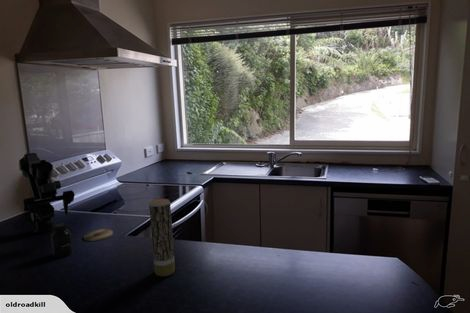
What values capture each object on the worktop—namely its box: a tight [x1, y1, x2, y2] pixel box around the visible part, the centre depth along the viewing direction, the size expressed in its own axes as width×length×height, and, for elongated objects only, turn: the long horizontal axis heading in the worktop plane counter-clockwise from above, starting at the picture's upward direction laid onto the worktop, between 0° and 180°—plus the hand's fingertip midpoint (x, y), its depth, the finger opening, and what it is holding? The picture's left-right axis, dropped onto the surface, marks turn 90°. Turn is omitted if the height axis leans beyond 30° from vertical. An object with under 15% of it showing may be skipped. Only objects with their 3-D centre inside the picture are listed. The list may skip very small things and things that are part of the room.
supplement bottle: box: [50, 222, 73, 259], centre depth 132 cm, size 7×7×12 cm
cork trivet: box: [83, 228, 114, 242], centre depth 151 cm, size 12×12×1 cm
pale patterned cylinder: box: [148, 198, 176, 277], centre depth 114 cm, size 7×7×25 cm
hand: (54, 217), depth 137 cm, fingers open, 9 cm apart
